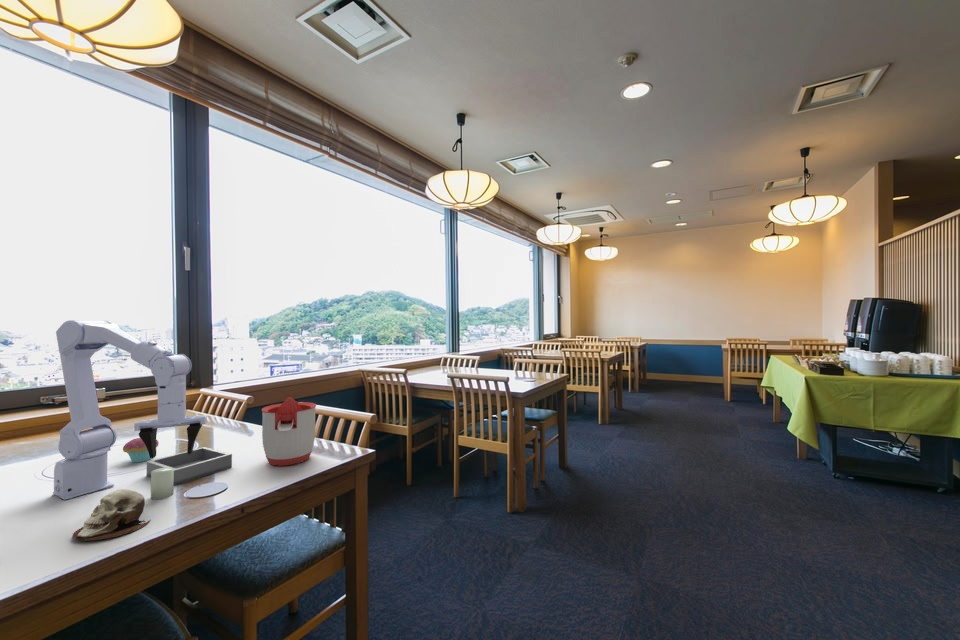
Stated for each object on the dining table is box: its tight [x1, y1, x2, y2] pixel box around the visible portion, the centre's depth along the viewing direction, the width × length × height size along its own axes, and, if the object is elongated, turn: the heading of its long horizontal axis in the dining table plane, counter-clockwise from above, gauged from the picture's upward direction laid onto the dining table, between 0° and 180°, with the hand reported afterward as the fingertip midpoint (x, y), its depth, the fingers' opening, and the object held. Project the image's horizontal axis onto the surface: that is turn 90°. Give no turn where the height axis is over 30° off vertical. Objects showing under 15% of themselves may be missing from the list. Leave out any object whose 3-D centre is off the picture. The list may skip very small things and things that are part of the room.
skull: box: [72, 488, 152, 542], centre depth 82 cm, size 12×10×10 cm
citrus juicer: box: [261, 396, 317, 467], centre depth 122 cm, size 16×17×20 cm
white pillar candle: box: [150, 467, 174, 501], centre depth 98 cm, size 4×4×6 cm
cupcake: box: [122, 437, 159, 463], centre depth 124 cm, size 9×8×12 cm
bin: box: [146, 446, 233, 486], centre depth 114 cm, size 15×15×4 cm
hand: (171, 455), depth 100 cm, fingers open, 7 cm apart
